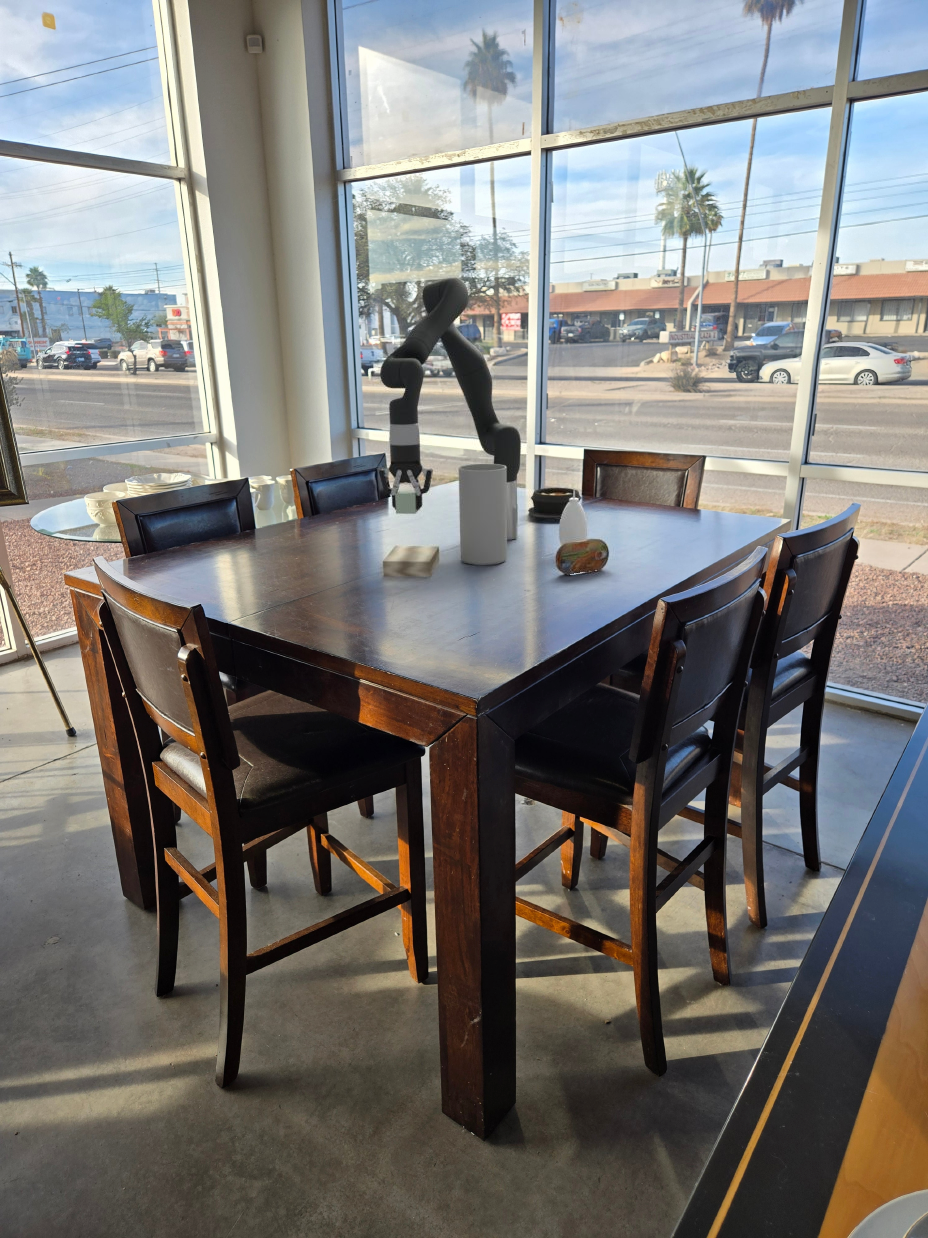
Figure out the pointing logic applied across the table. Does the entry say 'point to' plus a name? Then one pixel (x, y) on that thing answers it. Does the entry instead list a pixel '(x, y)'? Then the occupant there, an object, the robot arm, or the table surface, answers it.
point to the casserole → (551, 502)
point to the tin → (582, 556)
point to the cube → (405, 502)
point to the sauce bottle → (573, 522)
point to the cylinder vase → (483, 513)
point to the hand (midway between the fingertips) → (407, 509)
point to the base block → (411, 561)
